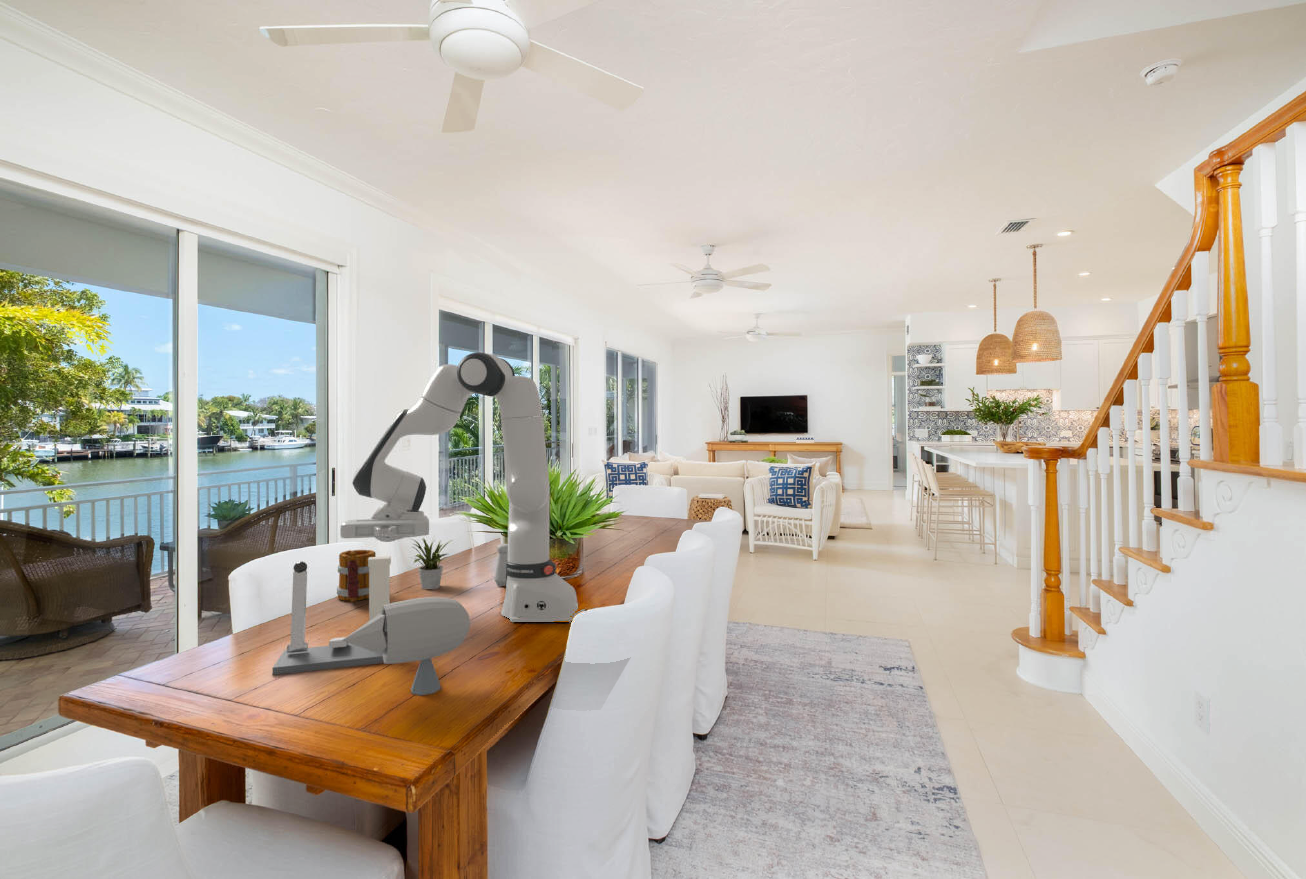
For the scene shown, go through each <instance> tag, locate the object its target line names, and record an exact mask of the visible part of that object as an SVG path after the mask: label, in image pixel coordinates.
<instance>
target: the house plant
mask: <svg viewBox="0 0 1306 879" xmlns="http://www.w3.org/2000/svg"><path fill="white" fill-rule="evenodd" d="M434 538H435V536H433V537H432V540H431V543H430V546H429V545H428V542H427V540H426V539H425V538H424V537H422V538H421V540H422V542H423V544H424V547H423V548H422V546H421V544H420V543H419V542H418V541H417V540H415V539H413V538H412V539H411V538H410V540H412V541H413V542H415V543H413V545H414V546H415V547H414V546H412V548H413V549H415V550H416V552H418V553H419V554H416V555H415V557H417V558H415V557H414V559H415V560H414V561H413V565H414V563H416V562H417V563H418V562H419V563H420V564H421V565H422V566H419V567H418V574H419V580H420V585H421V589H422V590H425V589H432V590H437V589H439V588H440V587H441V579H442V573H443V568H444V567H443V565H440V563H441V562H442V561H443V560H444V559H447V558H448V556H447V555H448V553H442V554H440V553H441V552H442V550H443V549H444V548H445V547H446V546H447V545H448V544H449V543H451V542H453V540H452V539H451V540H449V541H448V542H445V544H441V539H440V540H439V542H438V544H437V545H436V548H435V550H434V551H433V550H432V549H433V543H434V542H435V541H436V539H437V538H436V539H434ZM433 539H434V540H433ZM416 547H417V548H416ZM418 549H419V550H418ZM432 551H433V552H432ZM421 552H422V553H421ZM442 557H443V558H442ZM408 558H411V559H412V558H413V557H408ZM441 558H442V559H441ZM420 560H421V561H422V562H423V563H422V562H421V561H420Z"/></svg>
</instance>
